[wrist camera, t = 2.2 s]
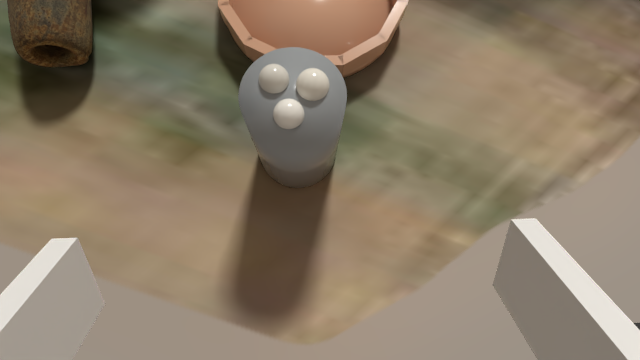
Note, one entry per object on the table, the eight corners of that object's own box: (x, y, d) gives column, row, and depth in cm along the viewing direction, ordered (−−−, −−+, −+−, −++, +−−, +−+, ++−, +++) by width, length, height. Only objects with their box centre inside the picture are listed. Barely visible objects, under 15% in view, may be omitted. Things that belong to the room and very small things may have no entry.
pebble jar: (260, 189, 34) (234, 140, 22) (259, 117, 36) (235, 38, 24) (337, 186, 34) (352, 137, 23) (333, 115, 36) (345, 35, 24)
